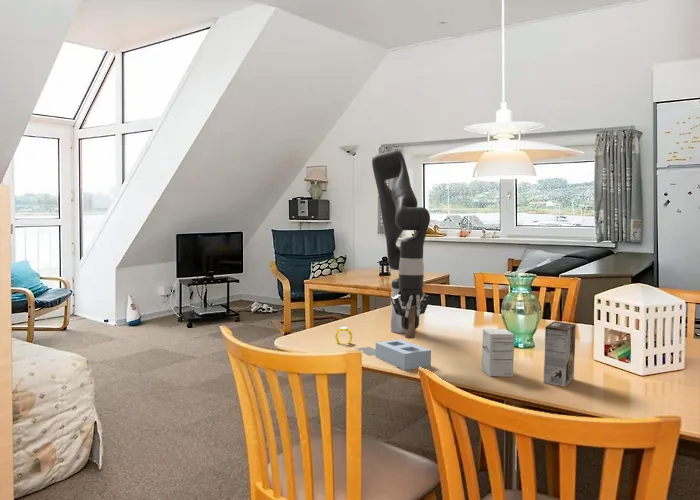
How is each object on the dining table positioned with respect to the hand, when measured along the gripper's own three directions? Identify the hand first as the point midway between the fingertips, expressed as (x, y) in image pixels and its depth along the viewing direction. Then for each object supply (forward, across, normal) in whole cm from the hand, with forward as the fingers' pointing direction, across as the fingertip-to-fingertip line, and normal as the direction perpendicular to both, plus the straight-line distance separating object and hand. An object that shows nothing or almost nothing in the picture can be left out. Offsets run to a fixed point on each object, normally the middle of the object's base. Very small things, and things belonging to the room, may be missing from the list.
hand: (410, 328), depth 176 cm
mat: (+12, +3, -19) cm, 22 cm away
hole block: (+12, 0, -4) cm, 12 cm away
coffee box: (+12, -28, +33) cm, 45 cm away
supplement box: (+12, -18, +19) cm, 29 cm away
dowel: (+3, 0, 0) cm, 3 cm away
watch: (+12, +5, -33) cm, 35 cm away
